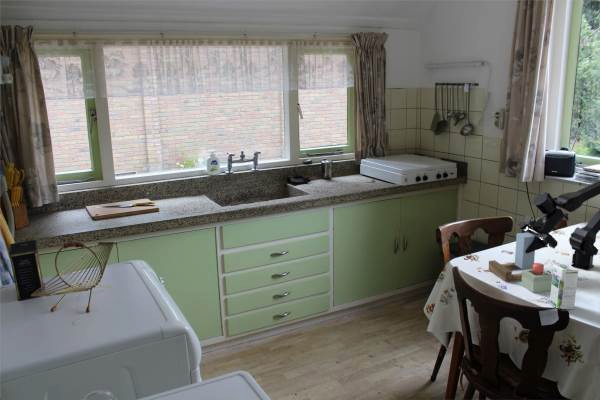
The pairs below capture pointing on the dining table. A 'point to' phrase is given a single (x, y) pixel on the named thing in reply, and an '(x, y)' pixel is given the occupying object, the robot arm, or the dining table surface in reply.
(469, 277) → the dining table surface
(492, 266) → the bar
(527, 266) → the pale blue upright block
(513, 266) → the rails
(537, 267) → the gauge button
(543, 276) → the pale green box
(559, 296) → the syrup box
